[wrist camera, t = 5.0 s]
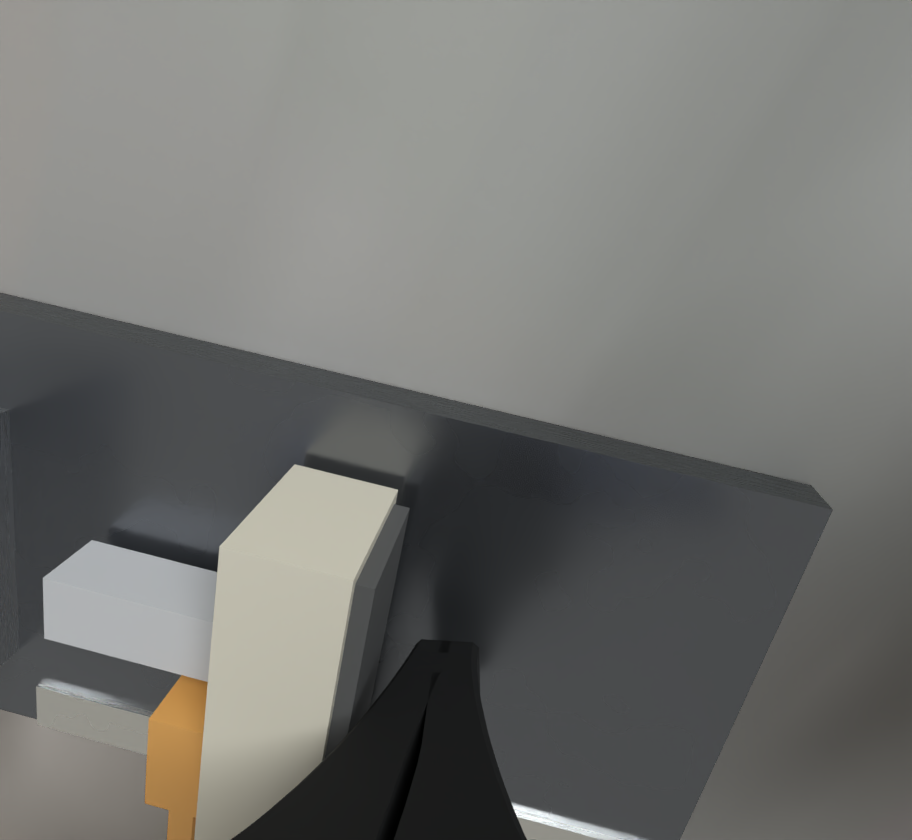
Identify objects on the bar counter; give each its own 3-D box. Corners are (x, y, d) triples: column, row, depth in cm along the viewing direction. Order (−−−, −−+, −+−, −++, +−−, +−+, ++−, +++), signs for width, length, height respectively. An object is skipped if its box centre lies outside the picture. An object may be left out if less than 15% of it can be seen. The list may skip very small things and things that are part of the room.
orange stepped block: (268, 665, 14) (225, 739, 12) (251, 803, 15) (210, 888, 13) (202, 648, 14) (148, 719, 12) (190, 786, 15) (142, 868, 14)
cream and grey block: (414, 493, 12) (374, 585, 9) (358, 769, 15) (313, 907, 12) (92, 414, 12) (-40, 480, 10) (90, 697, 15) (-15, 815, 12)
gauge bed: (811, 485, 12) (970, 664, 8) (650, 847, 16) (693, 1121, 11) (-72, 275, 13) (-405, 322, 9) (-40, 660, 17) (-264, 841, 12)
